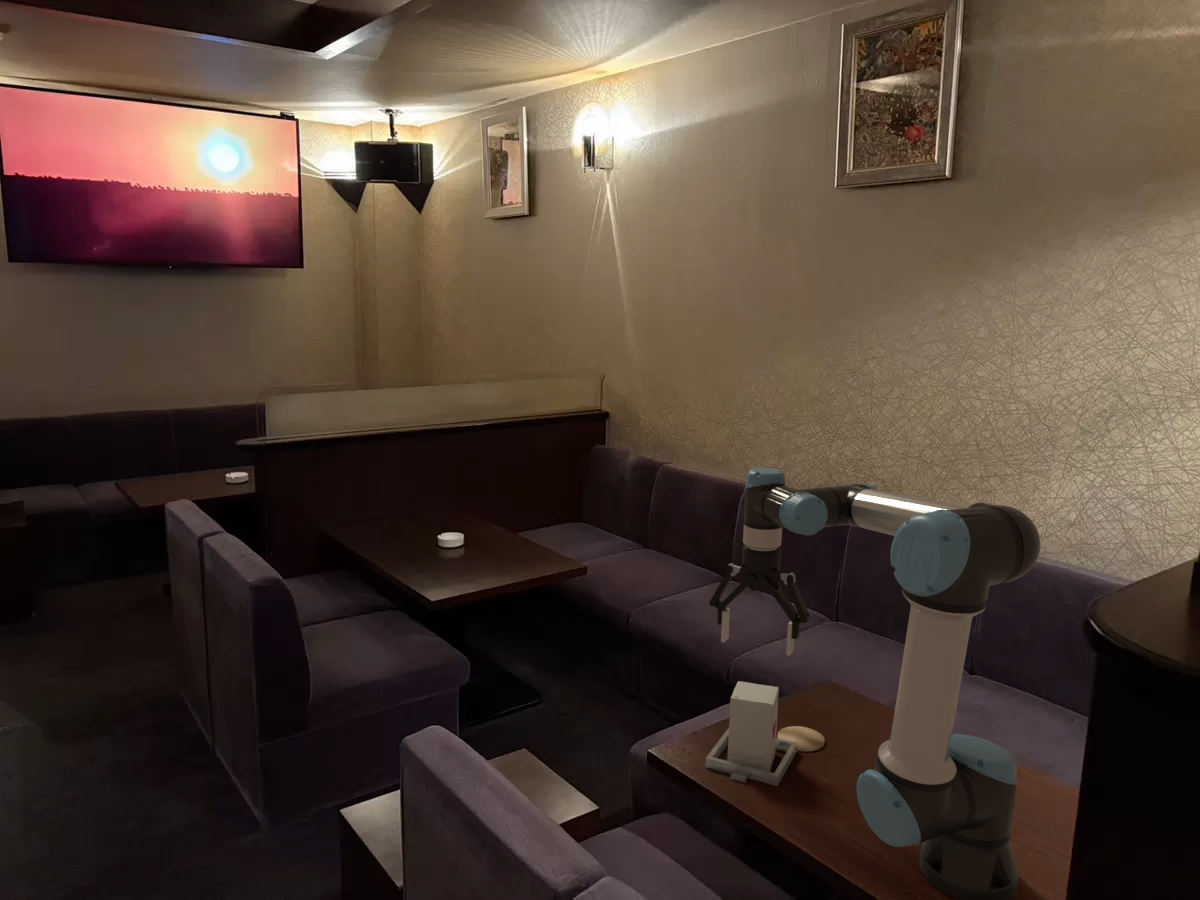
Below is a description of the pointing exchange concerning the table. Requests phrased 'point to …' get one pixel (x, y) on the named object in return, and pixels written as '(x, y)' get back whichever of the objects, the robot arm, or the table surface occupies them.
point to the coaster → (802, 738)
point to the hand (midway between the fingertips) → (756, 646)
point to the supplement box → (753, 725)
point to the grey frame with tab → (746, 772)
